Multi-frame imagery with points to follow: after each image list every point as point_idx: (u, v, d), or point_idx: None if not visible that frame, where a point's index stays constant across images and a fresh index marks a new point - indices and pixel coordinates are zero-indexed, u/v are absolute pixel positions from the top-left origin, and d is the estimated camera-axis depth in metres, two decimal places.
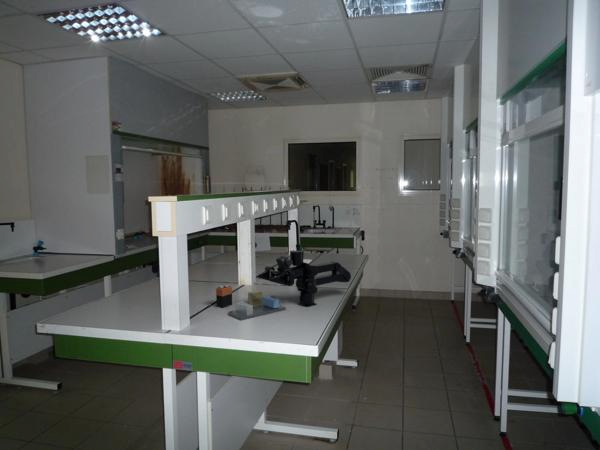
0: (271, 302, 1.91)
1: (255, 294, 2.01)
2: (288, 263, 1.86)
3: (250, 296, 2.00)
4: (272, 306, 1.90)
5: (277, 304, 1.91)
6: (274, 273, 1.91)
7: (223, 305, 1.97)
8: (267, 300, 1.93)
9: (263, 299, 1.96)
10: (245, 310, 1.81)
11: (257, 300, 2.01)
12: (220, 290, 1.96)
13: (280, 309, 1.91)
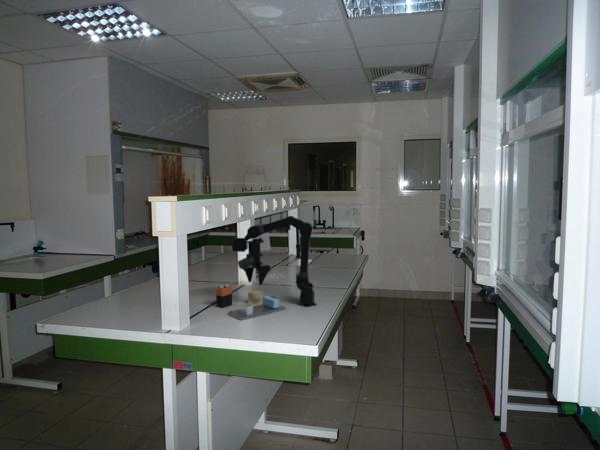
0: (271, 302, 1.91)
1: (255, 294, 2.01)
2: (249, 264, 1.94)
3: (250, 296, 2.00)
4: (272, 306, 1.90)
5: (277, 304, 1.91)
6: (249, 265, 2.04)
7: (223, 305, 1.97)
8: (267, 300, 1.93)
9: (263, 299, 1.96)
10: (245, 310, 1.81)
11: (257, 300, 2.01)
12: (220, 290, 1.96)
13: (280, 309, 1.91)
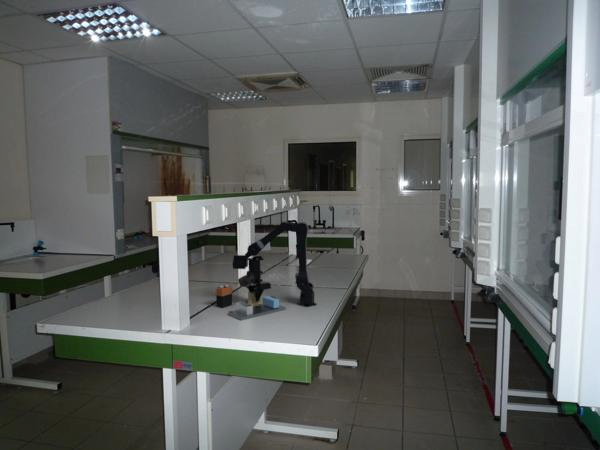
0: (271, 302, 1.91)
1: (255, 294, 2.01)
2: (249, 282, 1.95)
3: (250, 296, 2.00)
4: (272, 306, 1.90)
5: (277, 304, 1.91)
6: None
7: (223, 305, 1.97)
8: (267, 300, 1.93)
9: (263, 299, 1.96)
10: (245, 310, 1.81)
11: None
12: (220, 290, 1.96)
13: (280, 309, 1.91)
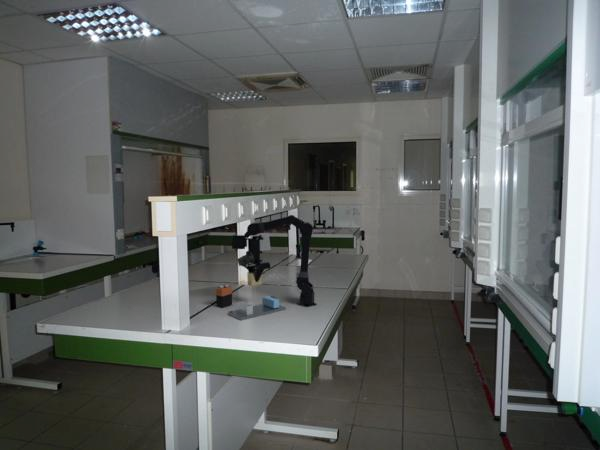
0: (271, 302, 1.91)
1: None
2: (248, 262, 1.93)
3: (249, 276, 1.98)
4: (272, 306, 1.90)
5: (277, 304, 1.91)
6: (249, 263, 2.02)
7: (223, 305, 1.97)
8: (267, 300, 1.93)
9: (263, 299, 1.96)
10: (245, 310, 1.81)
11: None
12: (220, 290, 1.96)
13: (280, 309, 1.91)
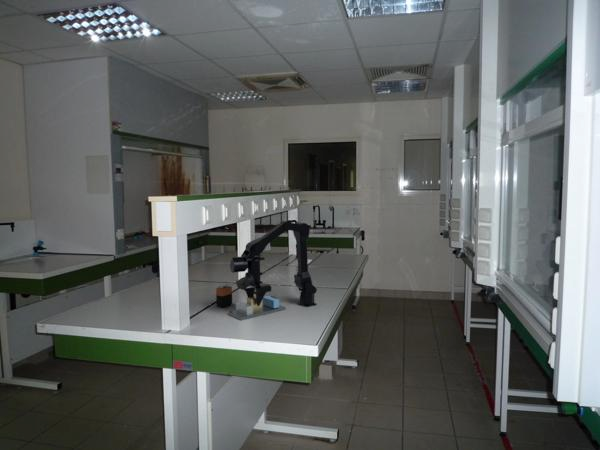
0: (271, 302, 1.91)
1: (254, 299, 1.86)
2: (248, 285, 1.80)
3: (249, 302, 1.86)
4: (272, 306, 1.90)
5: (277, 304, 1.91)
6: None
7: (223, 305, 1.97)
8: (267, 300, 1.93)
9: (263, 299, 1.96)
10: (245, 310, 1.81)
11: (256, 306, 1.87)
12: (220, 290, 1.96)
13: (280, 309, 1.91)
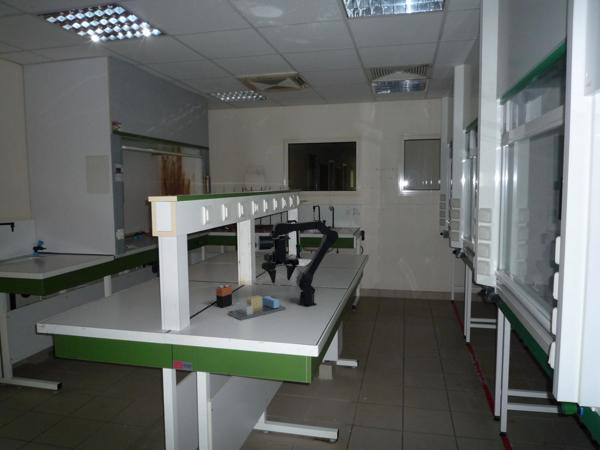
0: (271, 302, 1.91)
1: (254, 299, 1.86)
2: (265, 259, 1.98)
3: (249, 302, 1.86)
4: (272, 306, 1.90)
5: (277, 304, 1.91)
6: (285, 263, 1.99)
7: (223, 305, 1.97)
8: (267, 300, 1.93)
9: (263, 299, 1.96)
10: (245, 310, 1.81)
11: (256, 306, 1.87)
12: (220, 290, 1.96)
13: (280, 309, 1.91)
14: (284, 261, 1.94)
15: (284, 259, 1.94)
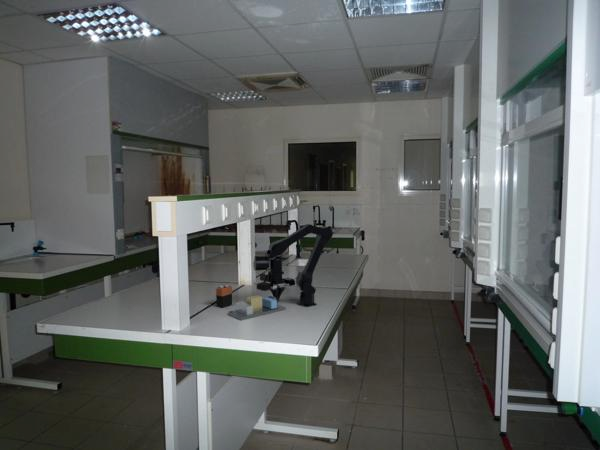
0: (269, 303, 1.90)
1: (254, 299, 1.86)
2: (261, 279, 1.97)
3: (249, 302, 1.86)
4: (270, 307, 1.90)
5: (275, 305, 1.90)
6: None
7: (223, 305, 1.97)
8: (265, 301, 1.92)
9: None
10: (245, 310, 1.81)
11: (256, 306, 1.87)
12: (220, 290, 1.96)
13: (280, 309, 1.91)
14: (279, 281, 1.93)
15: (279, 279, 1.93)
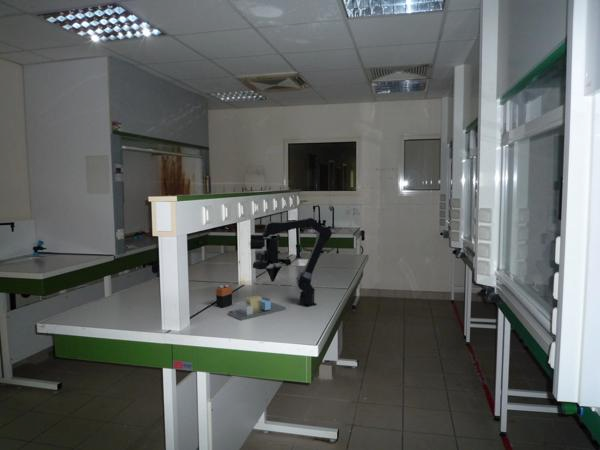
0: (262, 304, 1.88)
1: (254, 300, 1.86)
2: (257, 258, 1.99)
3: (248, 302, 1.85)
4: (263, 308, 1.87)
5: (268, 306, 1.88)
6: None
7: (223, 305, 1.97)
8: None
9: None
10: (245, 310, 1.81)
11: (255, 306, 1.87)
12: (220, 290, 1.96)
13: (280, 309, 1.91)
14: (275, 261, 1.95)
15: (275, 259, 1.95)
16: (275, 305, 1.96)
